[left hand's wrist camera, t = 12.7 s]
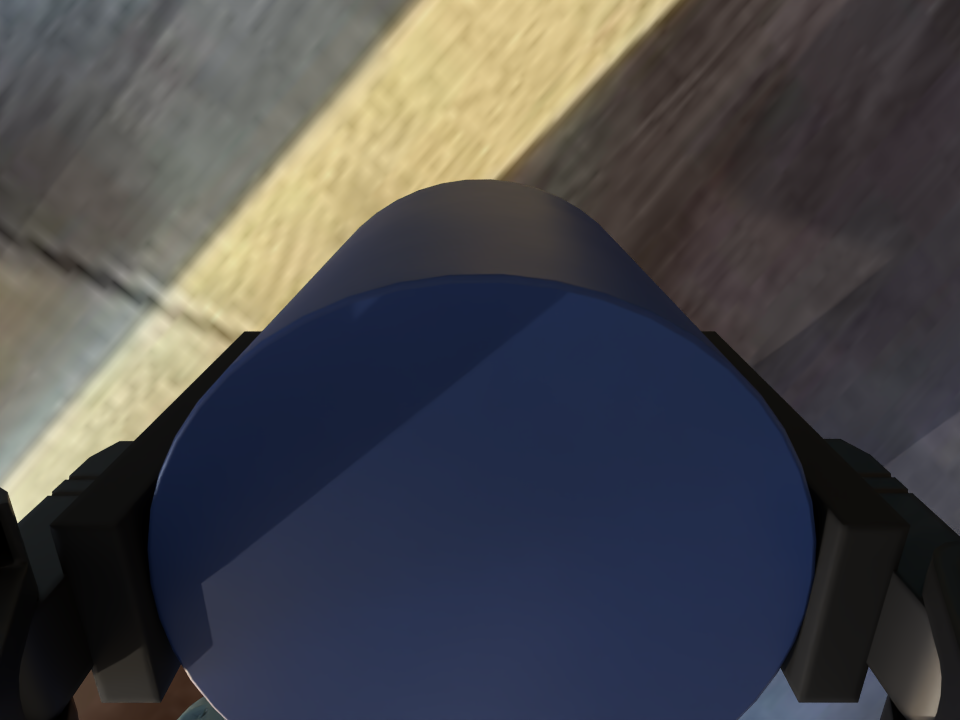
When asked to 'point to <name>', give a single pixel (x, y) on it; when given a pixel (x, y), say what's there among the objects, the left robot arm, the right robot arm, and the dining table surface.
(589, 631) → the canister
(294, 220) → the dining table surface
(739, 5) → the dining table surface
